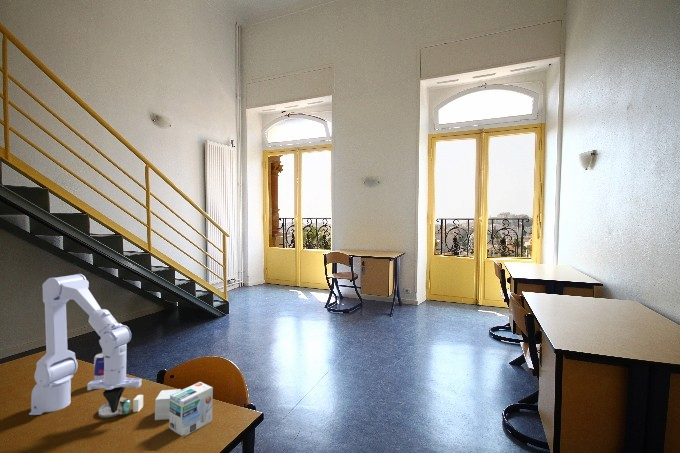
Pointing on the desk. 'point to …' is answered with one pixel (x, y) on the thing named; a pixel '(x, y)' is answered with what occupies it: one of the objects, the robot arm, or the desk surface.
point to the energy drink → (99, 367)
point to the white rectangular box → (138, 403)
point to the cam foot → (122, 409)
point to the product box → (163, 404)
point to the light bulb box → (191, 408)
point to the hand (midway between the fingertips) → (114, 410)
